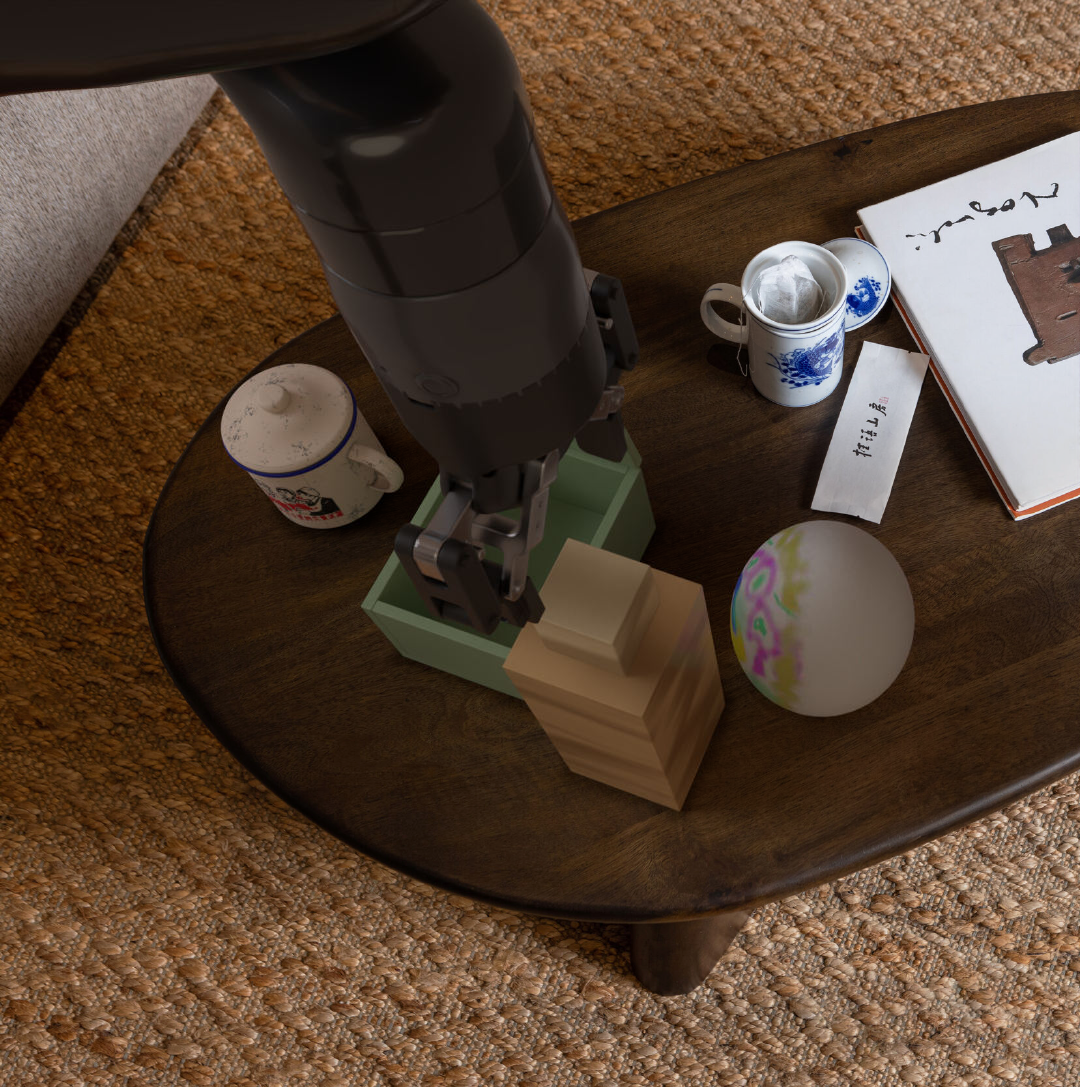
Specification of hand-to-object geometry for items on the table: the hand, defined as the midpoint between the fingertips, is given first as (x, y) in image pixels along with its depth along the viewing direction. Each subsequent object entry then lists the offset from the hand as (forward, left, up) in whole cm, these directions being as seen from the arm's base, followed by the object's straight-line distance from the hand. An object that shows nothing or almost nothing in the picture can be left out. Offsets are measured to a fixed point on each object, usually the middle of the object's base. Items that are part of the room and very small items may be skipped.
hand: (563, 529), depth 53 cm
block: (0, 0, -11) cm, 11 cm away
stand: (0, 0, -31) cm, 31 cm away
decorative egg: (+13, +3, -31) cm, 34 cm away
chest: (-6, +13, -31) cm, 34 cm away
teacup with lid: (-18, +25, -31) cm, 44 cm away
